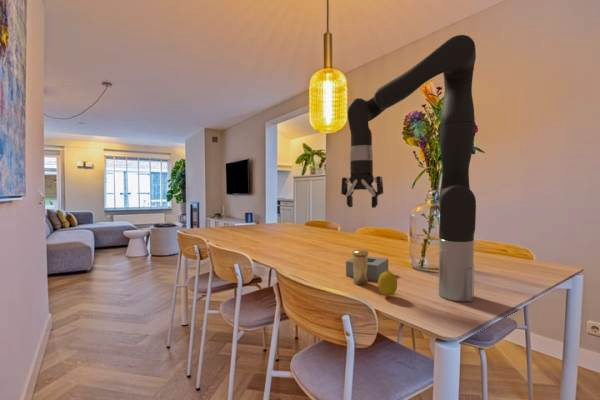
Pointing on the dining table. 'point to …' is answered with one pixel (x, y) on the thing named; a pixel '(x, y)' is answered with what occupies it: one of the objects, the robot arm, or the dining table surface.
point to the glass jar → (360, 267)
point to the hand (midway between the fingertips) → (361, 207)
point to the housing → (370, 267)
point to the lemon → (387, 283)
